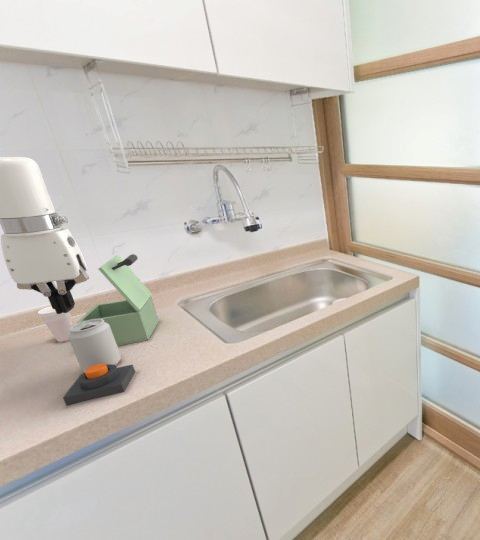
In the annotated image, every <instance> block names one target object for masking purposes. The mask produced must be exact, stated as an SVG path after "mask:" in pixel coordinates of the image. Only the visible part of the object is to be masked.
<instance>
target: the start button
mask: <svg viewBox="0 0 480 540" xmlns="http://www.w3.org/2000/svg"><path fill="white" fill-rule="evenodd" d="M84 373H85V374H86V377H87V379H94V378H98V377H100V376H103V375H105V374H106V373H108V368H107V366H106V364H105V363H100V364H96V365H93V366H91V367H89V368H87V369H86V370H85V372H84Z"/></svg>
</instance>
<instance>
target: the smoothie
mask: <svg viewBox="0 0 480 540" xmlns="http://www.w3.org/2000/svg"><path fill="white" fill-rule="evenodd" d="M47 299H48V298H47ZM48 302H49V303H50V301H49V299H48ZM37 315H38V317H40V318H41V319H42V321H43V322H44V324H45V325H46V327H47V329H48V330H49V331H50V332H51V335H53V337H54V338H55V340H56V341H57V342H58V343H62V342H66V341H69V338H68V334H69V333H70V331H69V329H70V328H71V327H72V326H73V322H72V316H71V311H69V312H68V313H61V314H57V313H56V311H55V309H53V308H52V306H51V305H50V306H47V307H44V308H41V309H40V310H38V311H37Z"/></svg>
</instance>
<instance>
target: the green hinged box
mask: <svg viewBox="0 0 480 540" xmlns="http://www.w3.org/2000/svg"><path fill="white" fill-rule="evenodd" d="M153 301H154V300H153V297H152V295H151V296H150V297H149V299H148V300H147V302H146V303H145V304H144V306H143V307H142V308H141V310H140V311H138V312H137V311H136V310H135V309H134V308H133V307H132V305H131V304H130V303H129V302H128V301H127V300H126V299H124V300H117V301H110V302H104V303H98V304H95V305H94V306H92V308H91V309H90V310H89V311H88V312H87V313H86V314H84V316H82V317H81V318H80V319H79V320H78V321H77V322H76V323H75V324H78V323H80V322H83V321H87V320H91V319H103V320H104V322H105V323H108V324H109V325H110V328H111V331H112V333H113V336H114V339H115V341H116V344H117V347H119V346H125V345H130V344H134V343H140V342H145V341H149V340H150V338H151V336H152V334H153V333H154V331H155V329H156V327H157V325H158V324H159V321H160V320H159V316H158V313H157V311H156V307H155V304H154V302H153Z"/></svg>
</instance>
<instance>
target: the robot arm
mask: <svg viewBox="0 0 480 540" xmlns="http://www.w3.org/2000/svg"><path fill="white" fill-rule="evenodd" d="M48 190H49V189H48V188H47V185H46V182H45V179H44V177H43V173H42V171H41V169H40V166H39V164H38V163H37V161H35V159H32V158H31V157H27V156H0V227H1V229H2V231H3V234H1V235H0V242H1V243H0V245H1V249H2V250H1V251H2V255H3V258H4V262H5V265H6V267H7V270H8V273H9V275H10V278H11V279H12V281H13V282H14V283H16V288H17V289H18V290H29V291H30V290H33V291H35V292H38V293H40V294H42V296H44V297H46V298H47V299H49V300H48V302H49V301H50V302H49V304H50V306H52V308H53V309H55V311H56V313H57V314H61V313H68V312H71V311H72V310H73V309H74V308H75V305H76V303H75V300H74V298H73V294H72V292H71V290H73V288H74V287H75V285H79V284H81V283H86V282H87V281H88V280H89V279H90V276H89V275H88V273H87V270H88V264H87V261H86V259H85V257H84V255H83V253H82V250H81V248H80V246H79V245H78V243H77V241H76V239H75V237H74V236H73V234H72V233H71V231H70V230H69V228H68V227H62V226H63V224H68V222H69V220H68V218H67V216H61V215H59V214H58V212H56V210H55V209H56V208H55V207H54V204H53V201H52V199H51V195H50V194H49V191H48ZM55 282H56V284H55Z"/></svg>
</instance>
